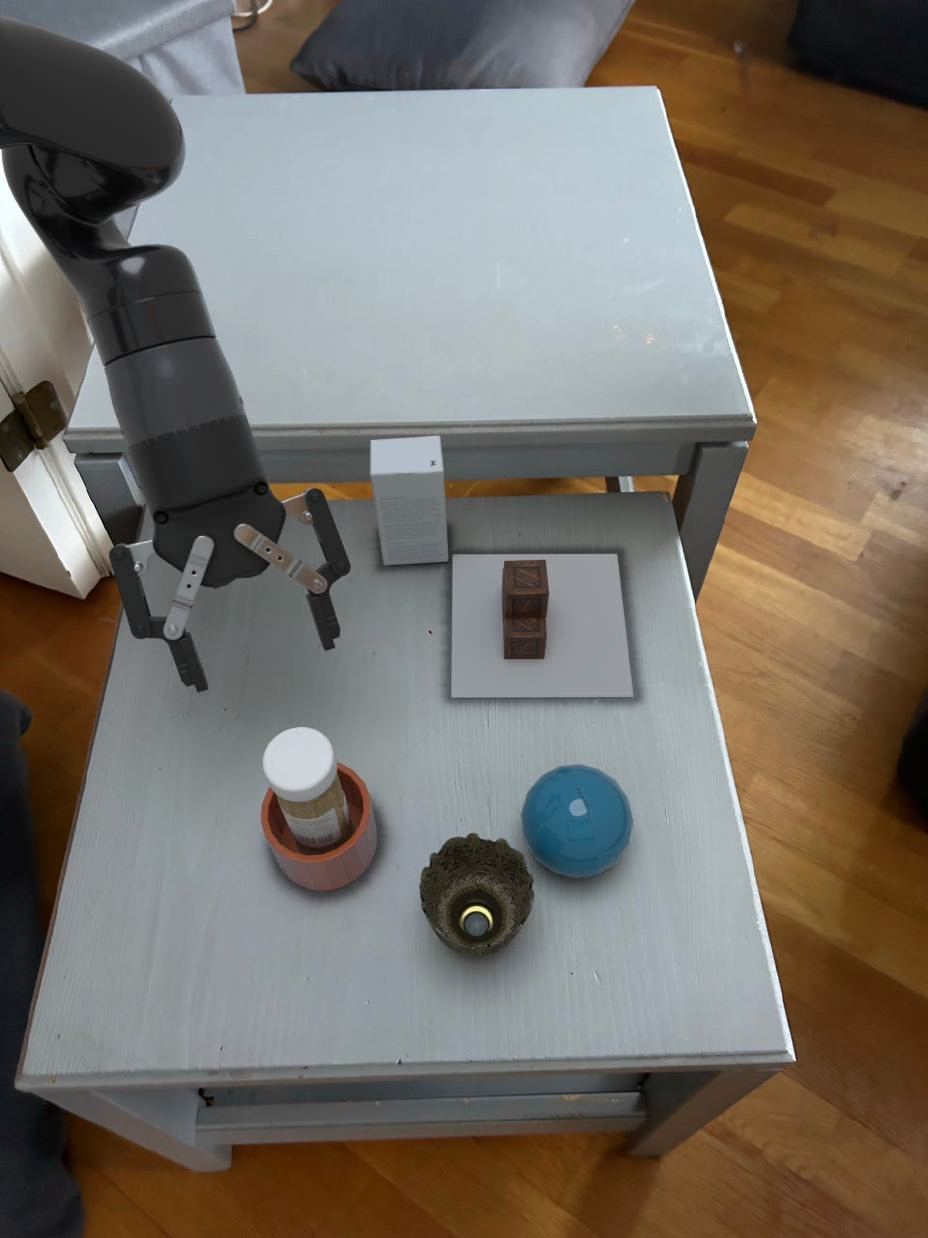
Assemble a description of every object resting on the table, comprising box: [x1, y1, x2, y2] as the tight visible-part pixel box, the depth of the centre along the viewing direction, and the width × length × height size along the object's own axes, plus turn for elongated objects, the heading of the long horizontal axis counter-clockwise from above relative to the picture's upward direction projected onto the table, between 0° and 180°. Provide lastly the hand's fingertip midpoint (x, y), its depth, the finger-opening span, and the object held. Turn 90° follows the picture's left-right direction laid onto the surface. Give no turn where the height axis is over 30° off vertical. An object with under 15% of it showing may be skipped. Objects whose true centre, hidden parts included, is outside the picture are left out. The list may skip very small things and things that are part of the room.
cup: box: [418, 832, 535, 958], centre depth 64 cm, size 8×7×8 cm
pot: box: [260, 761, 378, 892], centre depth 68 cm, size 8×8×6 cm
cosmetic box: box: [369, 435, 449, 566], centre depth 82 cm, size 6×4×12 cm
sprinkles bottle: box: [262, 726, 355, 856], centre depth 65 cm, size 5×5×13 cm
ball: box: [520, 763, 634, 879], centre depth 67 cm, size 8×8×8 cm
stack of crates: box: [450, 553, 634, 699], centre depth 79 cm, size 15×15×7 cm
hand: (267, 668), depth 62 cm, fingers open, 8 cm apart
